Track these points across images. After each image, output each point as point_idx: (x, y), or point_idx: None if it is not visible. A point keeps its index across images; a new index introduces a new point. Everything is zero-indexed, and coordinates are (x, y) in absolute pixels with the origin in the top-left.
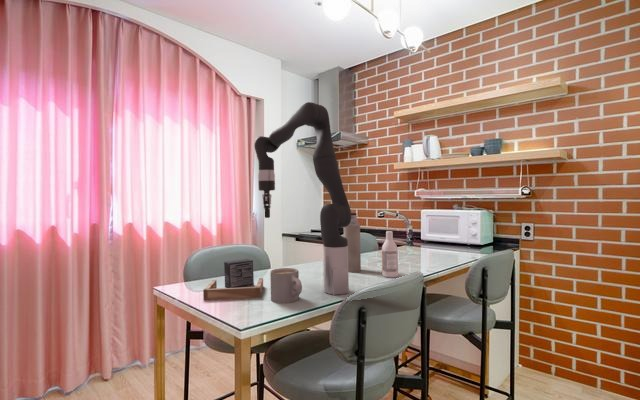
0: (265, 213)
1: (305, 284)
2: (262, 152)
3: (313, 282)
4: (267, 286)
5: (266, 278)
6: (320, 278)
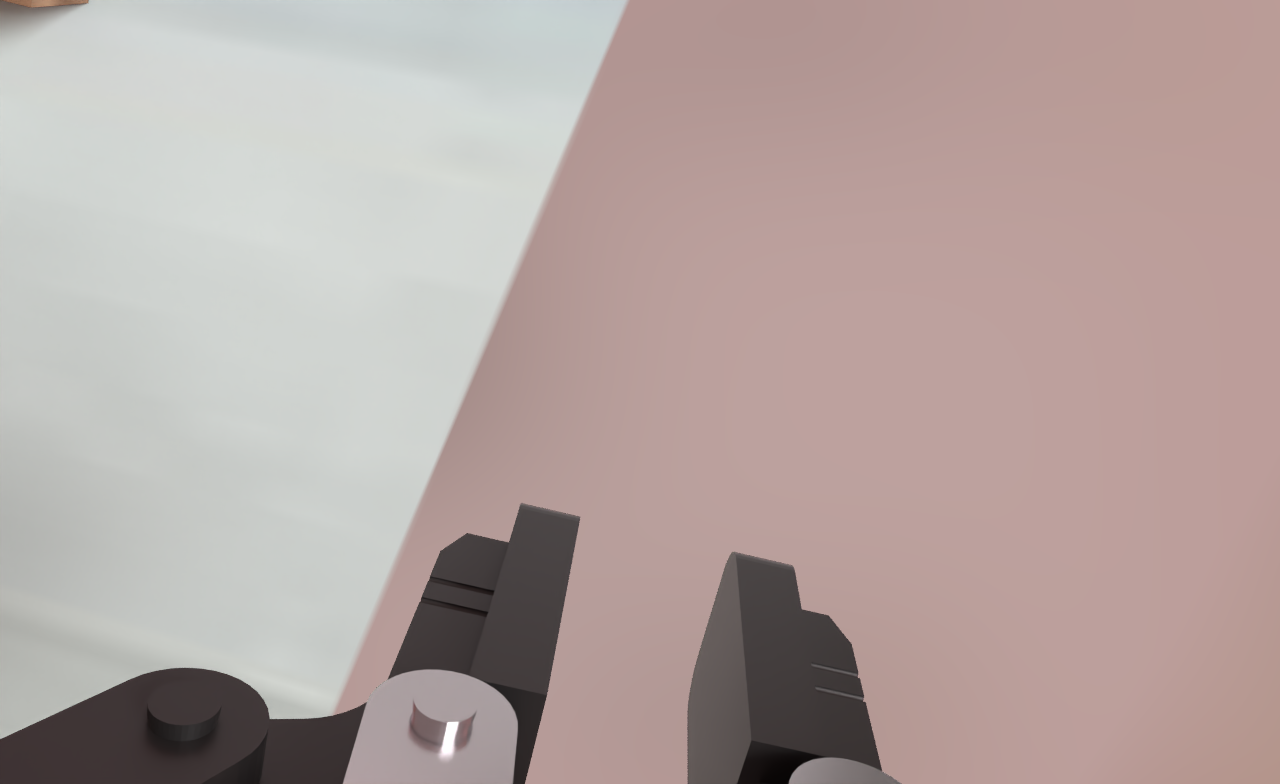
0: (487, 606)
1: (81, 474)
2: None
3: (148, 569)
4: (90, 57)
5: (530, 125)
6: (308, 682)
